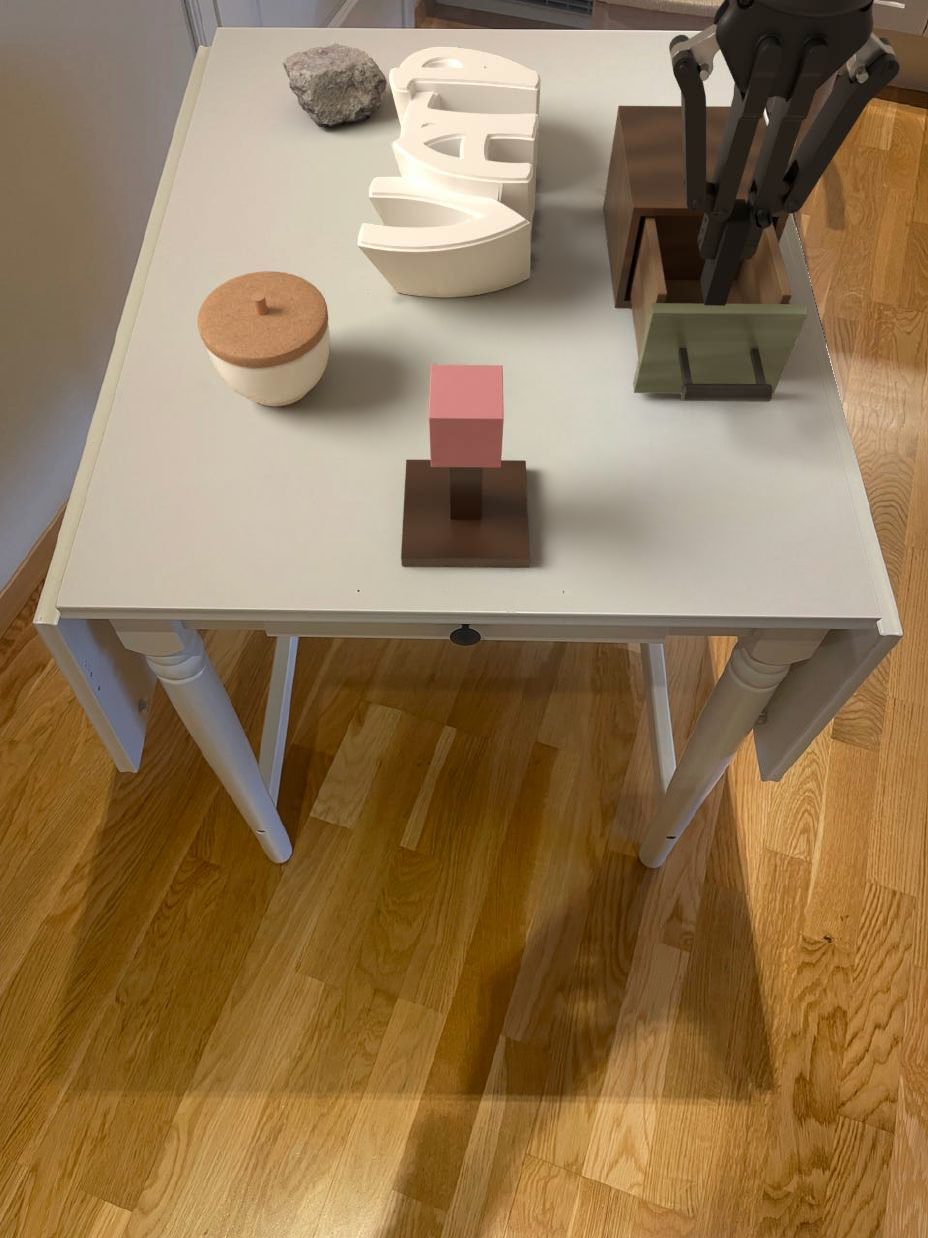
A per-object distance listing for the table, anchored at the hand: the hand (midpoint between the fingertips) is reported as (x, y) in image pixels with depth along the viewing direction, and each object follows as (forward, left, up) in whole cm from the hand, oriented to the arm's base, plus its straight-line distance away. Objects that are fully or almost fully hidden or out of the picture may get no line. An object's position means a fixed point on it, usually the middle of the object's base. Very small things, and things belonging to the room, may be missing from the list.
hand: (712, 292), depth 64 cm
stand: (+9, +18, -15) cm, 25 cm away
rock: (+56, -20, -15) cm, 61 cm away
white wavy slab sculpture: (+33, -13, -15) cm, 38 cm away
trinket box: (+31, +16, -15) cm, 38 cm away
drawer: (+2, -9, -14) cm, 17 cm away
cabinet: (+12, -21, -15) cm, 28 cm away
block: (+9, +18, -6) cm, 21 cm away
